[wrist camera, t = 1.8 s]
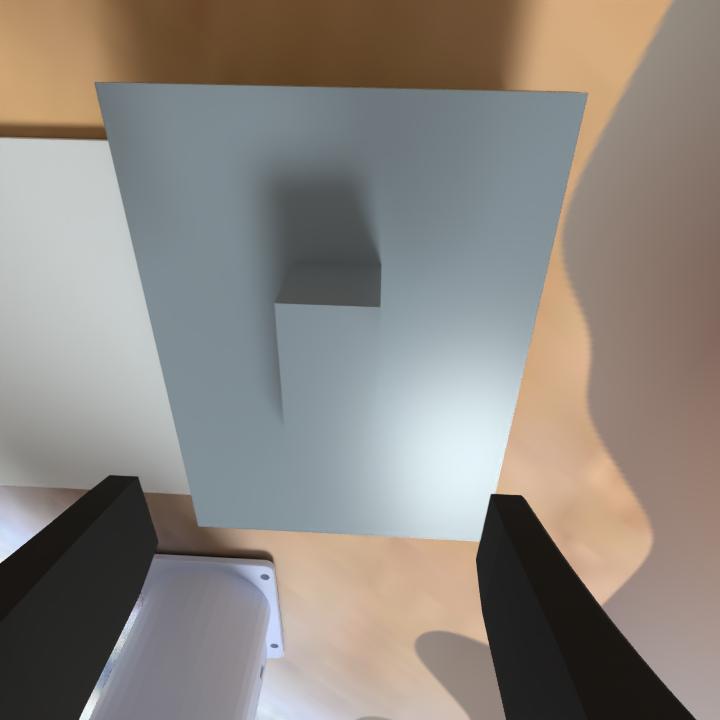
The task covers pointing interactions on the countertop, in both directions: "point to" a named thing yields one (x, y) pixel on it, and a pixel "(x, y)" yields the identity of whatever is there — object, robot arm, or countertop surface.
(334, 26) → the countertop surface
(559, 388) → the countertop surface
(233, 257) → the lid
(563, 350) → the countertop surface
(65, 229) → the mat
